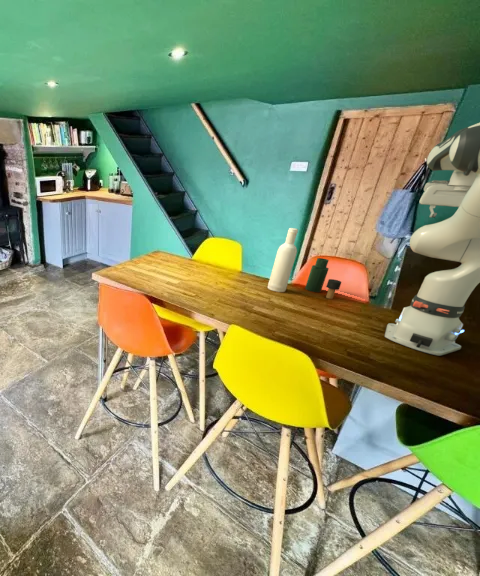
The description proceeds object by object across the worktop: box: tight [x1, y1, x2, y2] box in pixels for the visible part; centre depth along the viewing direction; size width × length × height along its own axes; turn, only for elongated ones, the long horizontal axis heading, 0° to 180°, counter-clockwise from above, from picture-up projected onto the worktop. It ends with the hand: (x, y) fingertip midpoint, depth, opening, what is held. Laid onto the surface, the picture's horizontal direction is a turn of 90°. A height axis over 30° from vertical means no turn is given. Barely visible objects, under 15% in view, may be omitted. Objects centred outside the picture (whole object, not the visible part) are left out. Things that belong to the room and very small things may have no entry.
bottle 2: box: [304, 257, 329, 293], centre depth 148 cm, size 7×7×16 cm
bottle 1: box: [267, 227, 299, 293], centre depth 143 cm, size 8×8×30 cm
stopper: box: [325, 278, 342, 300], centre depth 140 cm, size 5×5×8 cm
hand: (449, 218), depth 117 cm, fingers open, 8 cm apart
